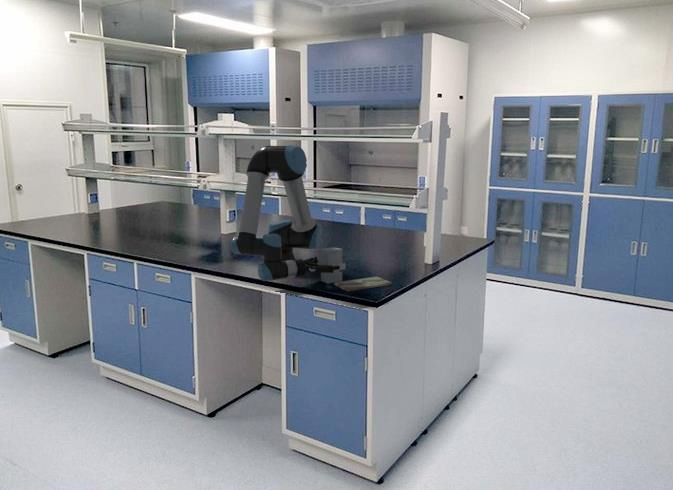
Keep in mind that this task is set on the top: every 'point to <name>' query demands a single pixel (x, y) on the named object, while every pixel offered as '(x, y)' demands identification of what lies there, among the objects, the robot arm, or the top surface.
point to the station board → (362, 283)
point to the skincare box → (329, 258)
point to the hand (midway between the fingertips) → (337, 262)
